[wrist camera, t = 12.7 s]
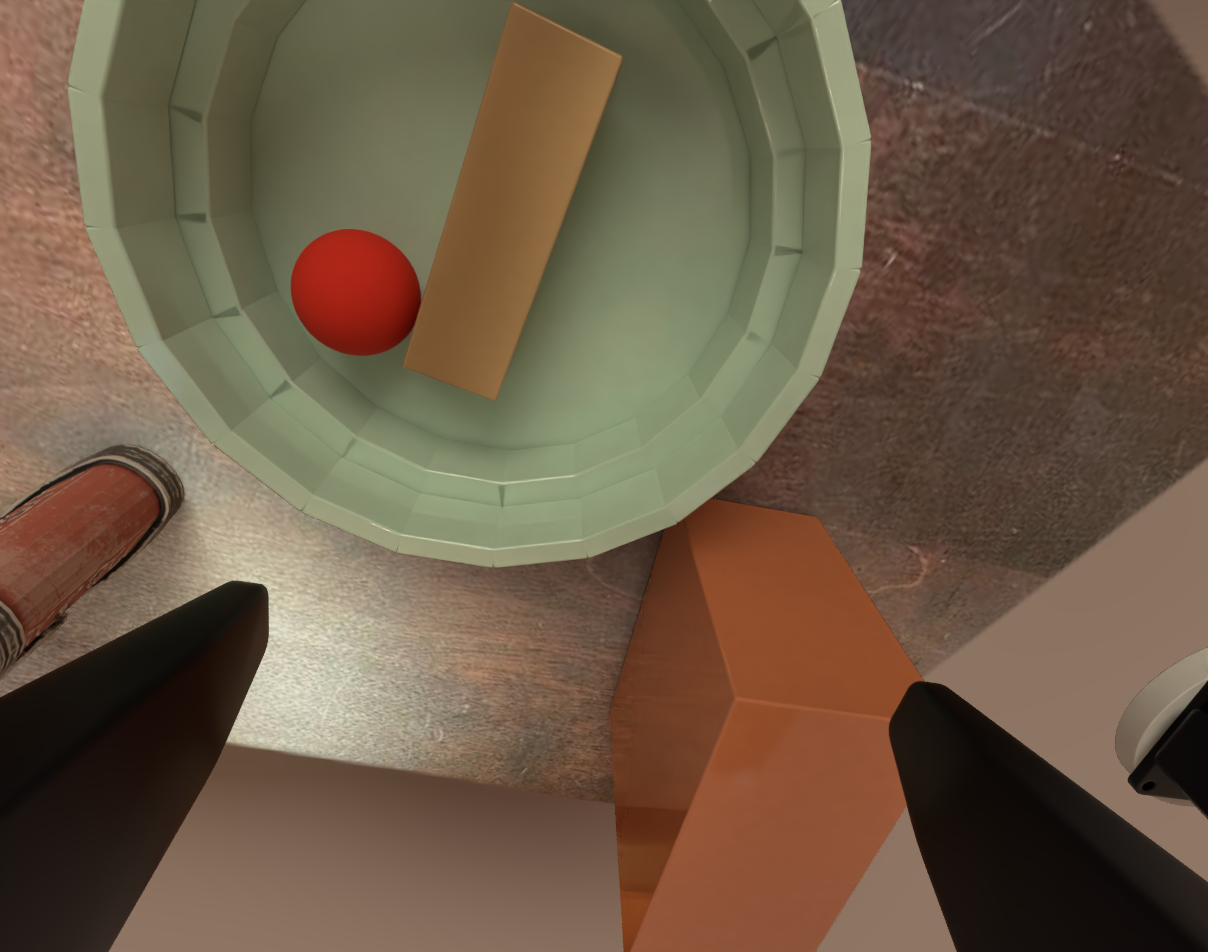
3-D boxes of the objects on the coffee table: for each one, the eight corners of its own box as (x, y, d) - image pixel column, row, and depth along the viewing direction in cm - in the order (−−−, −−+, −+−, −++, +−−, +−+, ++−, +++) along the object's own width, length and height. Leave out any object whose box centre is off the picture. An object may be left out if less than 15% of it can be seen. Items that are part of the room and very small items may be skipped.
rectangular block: (818, 516, 22) (957, 729, 14) (730, 728, 26) (797, 983, 18) (675, 491, 21) (735, 698, 13) (608, 712, 26) (623, 969, 18)
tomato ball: (449, 266, 15) (394, 382, 16) (433, 273, 18) (386, 371, 18) (320, 194, 14) (261, 320, 14) (324, 212, 17) (275, 318, 17)
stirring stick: (617, 69, 16) (624, 56, 13) (505, 371, 19) (495, 403, 16) (521, 20, 15) (511, -1, 13) (423, 339, 18) (401, 367, 16)
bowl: (884, -46, 15) (1012, -125, 11) (702, 512, 22) (734, 606, 17) (191, -255, 13) (-4, -456, 9) (220, 428, 20) (117, 511, 15)
